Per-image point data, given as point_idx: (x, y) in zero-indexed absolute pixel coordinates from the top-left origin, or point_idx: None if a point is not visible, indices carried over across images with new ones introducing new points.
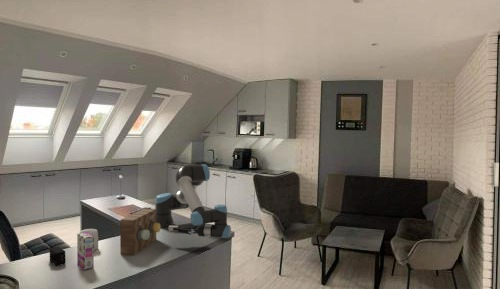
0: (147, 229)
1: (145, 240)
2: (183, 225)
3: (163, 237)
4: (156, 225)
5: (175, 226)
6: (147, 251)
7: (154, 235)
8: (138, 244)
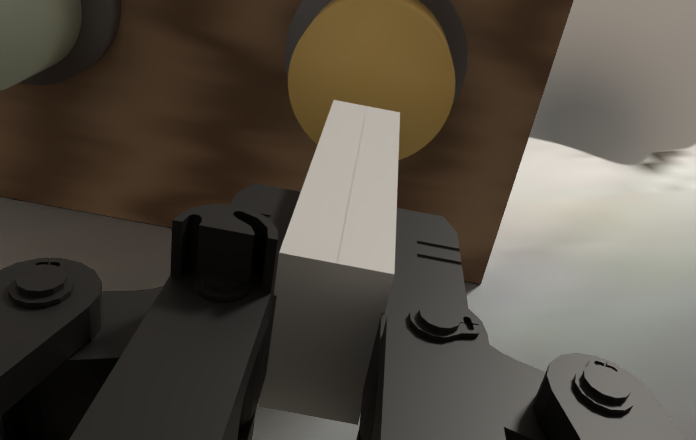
0: (262, 30)
1: (194, 154)
2: (602, 418)
3: (590, 338)
4: (324, 13)
5: (321, 187)
6: (5, 259)
7: (445, 213)
8: (16, 114)
